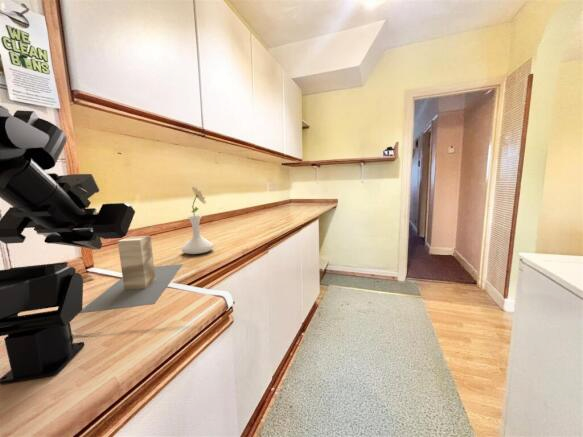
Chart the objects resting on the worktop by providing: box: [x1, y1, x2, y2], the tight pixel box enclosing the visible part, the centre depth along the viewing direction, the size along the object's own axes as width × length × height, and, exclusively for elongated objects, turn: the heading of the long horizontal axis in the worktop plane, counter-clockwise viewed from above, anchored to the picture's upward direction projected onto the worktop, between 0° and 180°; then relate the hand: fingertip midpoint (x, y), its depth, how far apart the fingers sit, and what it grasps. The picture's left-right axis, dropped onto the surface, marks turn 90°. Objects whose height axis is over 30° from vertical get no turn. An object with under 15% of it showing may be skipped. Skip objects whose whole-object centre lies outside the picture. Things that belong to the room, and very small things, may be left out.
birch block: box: [117, 235, 156, 289], centre depth 59 cm, size 5×5×12 cm
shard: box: [81, 272, 96, 284], centre depth 62 cm, size 11×8×2 cm
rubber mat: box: [79, 263, 183, 314], centre depth 61 cm, size 26×14×1 cm, turn 12°
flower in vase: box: [180, 185, 214, 255], centre depth 89 cm, size 13×11×25 cm
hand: (99, 247), depth 46 cm, fingers closed
